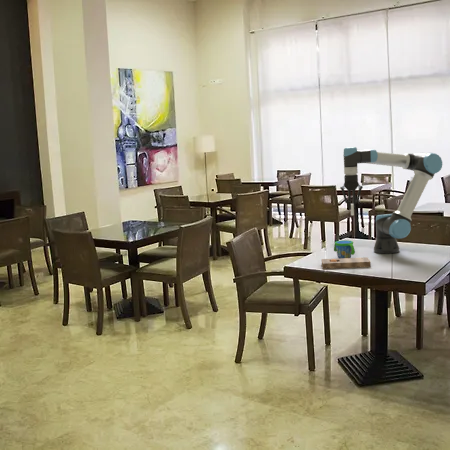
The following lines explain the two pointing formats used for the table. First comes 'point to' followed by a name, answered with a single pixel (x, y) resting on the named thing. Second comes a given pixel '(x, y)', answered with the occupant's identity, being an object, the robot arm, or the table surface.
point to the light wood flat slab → (346, 263)
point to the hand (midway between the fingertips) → (352, 215)
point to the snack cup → (344, 249)
